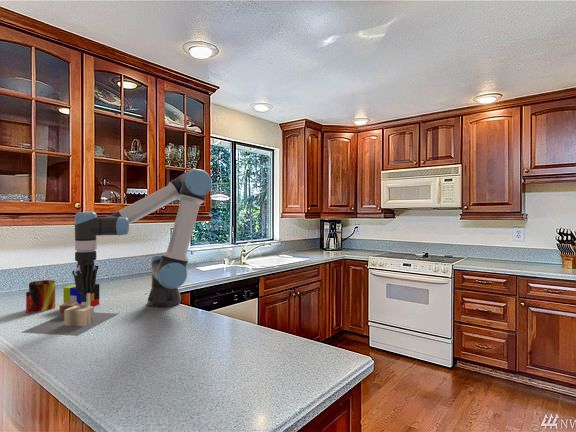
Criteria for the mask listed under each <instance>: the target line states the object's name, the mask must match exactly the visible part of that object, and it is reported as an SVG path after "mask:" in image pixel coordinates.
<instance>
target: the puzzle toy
mask: <svg viewBox="0 0 576 432" xmlns="http://www.w3.org/2000/svg"><path fill="white" fill-rule="evenodd" d="M92 291H93V292H91V299H90V306H93V307H94V308H95V307H97V306H100V283H95V289H94V290H92ZM65 302H78V306H82V302H81V294H79V293H77V290H76V285H75V284H71V285H67V286H64V287H63V303H65Z"/></svg>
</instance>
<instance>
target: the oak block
mask: <svg viewBox="0 0 576 432" xmlns="http://www.w3.org/2000/svg"><path fill="white" fill-rule="evenodd" d="M94 312H95V307H93V306H73V307H71V308H68V309H66V310H64V325H66V326H86V325H88V324H90V323H92V322H94Z"/></svg>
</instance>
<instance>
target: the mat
mask: <svg viewBox="0 0 576 432" xmlns="http://www.w3.org/2000/svg"><path fill="white" fill-rule="evenodd" d="M117 315H119V313H116V312H115V313H113V312H112V313H111V312H110V313H109V312H95V311H94V322H92V323H90V324H88V325H86V326H66V325H64V318H60V315H59V316H57V317H54V318H52V319H50V320H47V321H44V322H43V323H40V324H37V325H35V326H33V327H29V328H28V329H26V330H23V331H21V333H27V334H42V335H44V334H45V335H57V336H58V335H59V336H60V335H61V336H76V337H78V336H80V335H82V334H84V333H86V332H88V331H90V330H91V329H93V328H95V327H96V326H99V325H101V324H103V323H104V322H106V321H108V320H110V319H112V318H114V317H115V316H116V317H117Z"/></svg>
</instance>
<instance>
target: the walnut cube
mask: <svg viewBox="0 0 576 432" xmlns="http://www.w3.org/2000/svg"><path fill="white" fill-rule="evenodd" d="M73 306H78V302H65V303H64V302H62V304H60V305H59V307H58V308H59V316H60V318H64V310H66V309H68V308H71V307H73Z"/></svg>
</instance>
